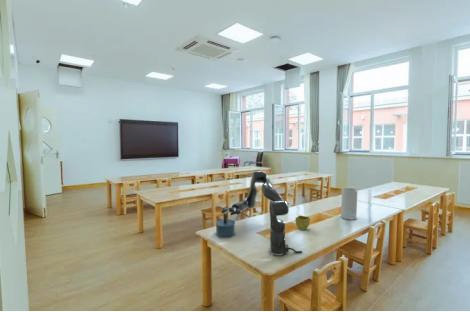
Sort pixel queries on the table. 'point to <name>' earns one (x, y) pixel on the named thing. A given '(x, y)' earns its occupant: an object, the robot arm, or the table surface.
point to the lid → (225, 222)
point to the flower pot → (302, 222)
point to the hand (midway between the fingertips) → (226, 212)
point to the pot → (225, 231)
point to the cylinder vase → (349, 203)
